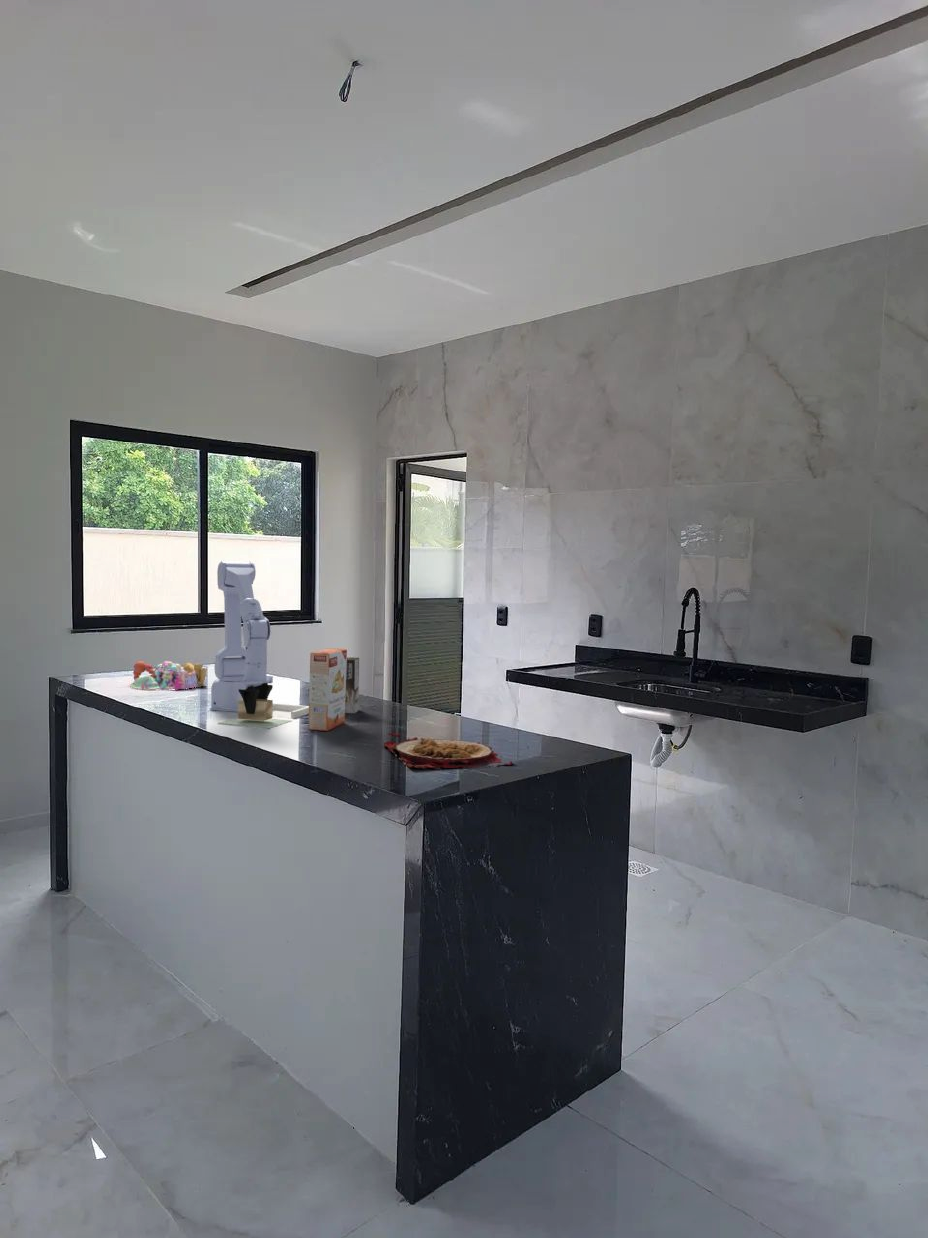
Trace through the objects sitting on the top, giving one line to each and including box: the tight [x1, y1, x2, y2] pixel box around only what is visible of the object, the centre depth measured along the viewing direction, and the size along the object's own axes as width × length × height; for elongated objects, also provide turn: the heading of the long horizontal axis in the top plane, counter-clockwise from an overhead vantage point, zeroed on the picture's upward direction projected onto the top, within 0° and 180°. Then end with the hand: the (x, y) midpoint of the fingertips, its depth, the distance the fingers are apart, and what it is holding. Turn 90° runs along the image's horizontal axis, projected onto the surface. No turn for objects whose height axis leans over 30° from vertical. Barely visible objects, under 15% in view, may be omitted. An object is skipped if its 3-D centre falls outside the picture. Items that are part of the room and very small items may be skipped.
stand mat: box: [217, 716, 293, 730], centre depth 241 cm, size 16×12×1 cm
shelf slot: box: [272, 702, 309, 720], centre depth 255 cm, size 13×11×2 cm
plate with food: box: [381, 732, 515, 770], centre depth 207 cm, size 25×26×4 cm
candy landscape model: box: [129, 660, 208, 691], centre depth 303 cm, size 25×24×9 cm
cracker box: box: [307, 648, 348, 732], centre depth 238 cm, size 14×6×21 cm, turn 168°
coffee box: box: [345, 656, 360, 714], centre depth 262 cm, size 9×6×16 cm
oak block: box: [237, 699, 274, 721], centre depth 241 cm, size 4×8×5 cm, turn 71°
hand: (255, 712), depth 241 cm, fingers closed on oak block, 4 cm apart
